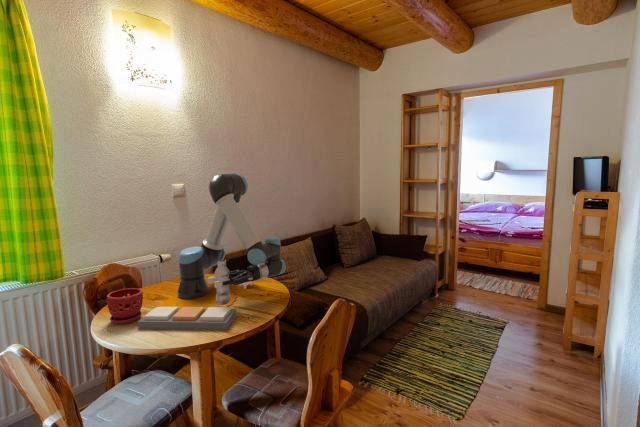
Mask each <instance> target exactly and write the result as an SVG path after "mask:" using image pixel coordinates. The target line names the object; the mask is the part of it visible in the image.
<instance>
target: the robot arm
mask: <svg viewBox="0 0 640 427" xmlns="http://www.w3.org/2000/svg"><path fill="white" fill-rule="evenodd" d="M248 188H249V185H248V181H247V179H246V178H245V177H244V176H243V175H241V174H239V173H234V172H233V173H219V174H216V175H214V176H213V177H212V178H211V179H210V181H209V185H208V190H209V194H210V197H211V200H212V201H213V203H214V204H215V206H216V208H215V211H214V214H213V217H212V220H211V223H210V227H209V230H208V232H207V235H206V238H205V239H203V240H202V243H201V245H200V246H190V247H186V248H184V249H182V250H181V251H180V252H179V254H178V265H179V266H178V267H179V278H180V280H179V285H178V288H177V297H178V298H179V299H184V300H185V299H186V300H188V299H189V300H191V299H198V298H202V297H205V296H206V295H208V294H209V293H210V290H209V289H210V288H209V285H210V284H214V289H216V288H218V287H222V286H226V285H230V286H240V284H242V283H246V282H248V283H249V282H252V281H253V282H256V281H258V280H261V281H262V280H264V279H267V278H270V277H275V276H279V275H282V274H284V273H285V271H286V269H287V266H286V261H285V260H283V259H282V258H281V256H282V255H281V253H282V252H281V250H282V248H281V247H282V244H281V238H279V237H277V236H272V237H266V238H265V242H264V243H265V244H264V243H262V240H261V239H260V237H259V236H258V234H257V233H256V231H255V229H254V228H253V227H252V225H251V224H250V222H249V220H248V219H247V217H246V215H245V214H244V213H243V211H242V209H241V208H240V206H239V205H238V204H239V203H240V201H241V199H242V198H241V197H242V196H244V195H245V194H246V193H247V192H248ZM229 224H230V226H231V227H232V228H233V231H235V233H236V234H237V236H238V238H239V239H240V241H241V243H242V244H243V246H244V247H245V249H246V251H247V252H248V253H247V256H246V257H247V261H248V262H249V264H251V265H249V266H247V267H246V270H245V269H241V270H240V269H239V268H238V269H234V270H231V271H230V270H229V279H224V280H220V281H216V279H215V275H214V276H211V277H207V280H206V277H205V270H207V269H210V268H213V267H214V266H217V261H219V260H225V256H226V251H225V245H224V243H223V242H224V239H225V236H226V232H227V231H228V228H229V227H228V226H229Z"/></svg>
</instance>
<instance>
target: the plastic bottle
mask: <svg viewBox="0 0 640 427" xmlns="http://www.w3.org/2000/svg"><path fill="white" fill-rule="evenodd" d="M216 266H217V267H216V269H215V271H214V276H215V279H216V281H220V280H224V279H229V271H230V270H229V268H228V267H227V260H226V259H223V260H219V261H217V265H216ZM229 280H230V279H229ZM229 285H230V284H229ZM229 285H226V286H222V287H218V288H215V289H216V291H215V292H216V294H215V303H216V304H217V305H218V306H219V305H220V306H224V305H228V304H229V303H230V301H231V293H230V288H229Z"/></svg>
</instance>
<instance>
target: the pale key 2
mask: <svg viewBox="0 0 640 427" xmlns="http://www.w3.org/2000/svg"><path fill="white" fill-rule="evenodd" d="M206 309H207V310H206V311H205V312H204V313H203V314H202V315H201V316H200V321H224V320H225V319H226V317H227V316H228V315H229V313H230V312H231V309H232V308H231V307H225V306H224V307H222V306H221V307H220V306H219V307H217V306H216V307H215V306H214V307H213V306H211V307H210V306H209V307H208V308H206Z"/></svg>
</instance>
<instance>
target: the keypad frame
mask: <svg viewBox="0 0 640 427" xmlns="http://www.w3.org/2000/svg"><path fill="white" fill-rule="evenodd" d="M180 309H181V308H178V311H179V310H180ZM207 309H208V308H204V312H205V311H206V310H207ZM204 312H203V313H204ZM176 313H177V312H176ZM176 313H175V314H176ZM203 313H202V314H203ZM202 314H201V315H202ZM201 315H200V316H201ZM235 318H237V309H236V308H231V312H230V313H229V315H228V316H227V317H226V319H225V320H224V321H200V317H199V318H198V319H197V320H196V321H182V320H172V317H171V318H170V319H169V320H145V317H144V316H143V317H142V318H141V319H139V320H138V321H137V329H139V330H146V329H147V330H195V331H196V330H197V331H199V330H200V331H201V330H203V331H205V330H209V331H210V330H211V331H212V330H213V331H215V330H216V331H227V330H228V329H229V327H230V326H231V324H232V323H233V322H234V320H235Z"/></svg>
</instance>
